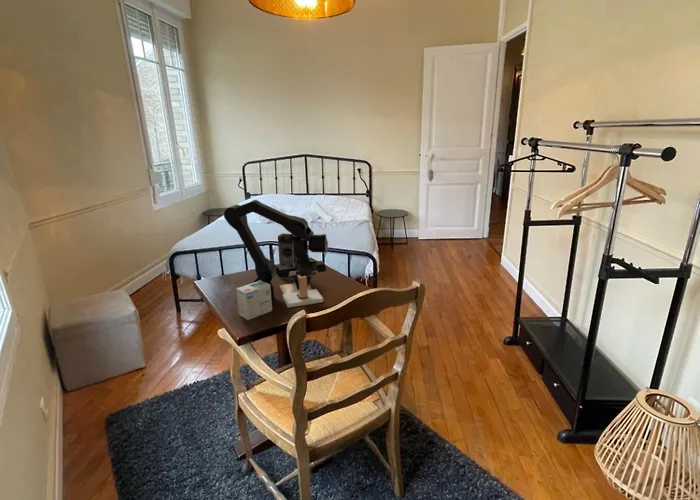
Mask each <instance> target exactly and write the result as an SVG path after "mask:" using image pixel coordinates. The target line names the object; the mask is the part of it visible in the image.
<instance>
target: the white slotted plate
mask: <svg viewBox="0 0 700 500" xmlns="http://www.w3.org/2000/svg"><path fill="white" fill-rule="evenodd" d="M307 291H308V297H305V298H300V297H299V295H298V293H297V292H294V293H287V294H283V293H282V299H283V301H284V303H285V304H286V306H287V308H294V307H299V306H306V305H313V304H318V303H323V302H324V297H323V296H322V295H321V294H320V292H319V291H318V289H316V288H314V289H313V290H307Z"/></svg>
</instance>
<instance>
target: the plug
mask: <svg viewBox="0 0 700 500" xmlns="http://www.w3.org/2000/svg"><path fill="white" fill-rule="evenodd" d="M297 276H298V284H299V290H297V293H298V295H299V299H305V298H307V297H308V291H307V277H306V276H300V275H297Z"/></svg>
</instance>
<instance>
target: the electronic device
mask: <svg viewBox="0 0 700 500" xmlns="http://www.w3.org/2000/svg"><path fill="white" fill-rule="evenodd" d="M291 234H292V233H280V234H278V236H277V246H278V249H277V250H278V260H279V261H278V262H279V263H278V265H279V266H284V265H286V266H287V267H288V268H291V267H294V265H293V263H294V261H293V242H292V241H287V239H288V238H289V237H290V235H291ZM296 274H297V275H299V272H296ZM281 279H282V280H283V279H284V280H290V281H294V280H293V278H290V277H289V276H288V277H282V278H281Z"/></svg>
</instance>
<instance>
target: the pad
mask: <svg viewBox="0 0 700 500" xmlns="http://www.w3.org/2000/svg"><path fill="white" fill-rule="evenodd" d="M279 288H280V290H281V292H282V295H283V294H287V293H294V292H297V287H296V285H295V283H294V282H293V283H288V284H287V283H286V284H280V285H279ZM307 290H314V289H313V288H312V287H311V285H310V284H309V285H308V288H307Z"/></svg>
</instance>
